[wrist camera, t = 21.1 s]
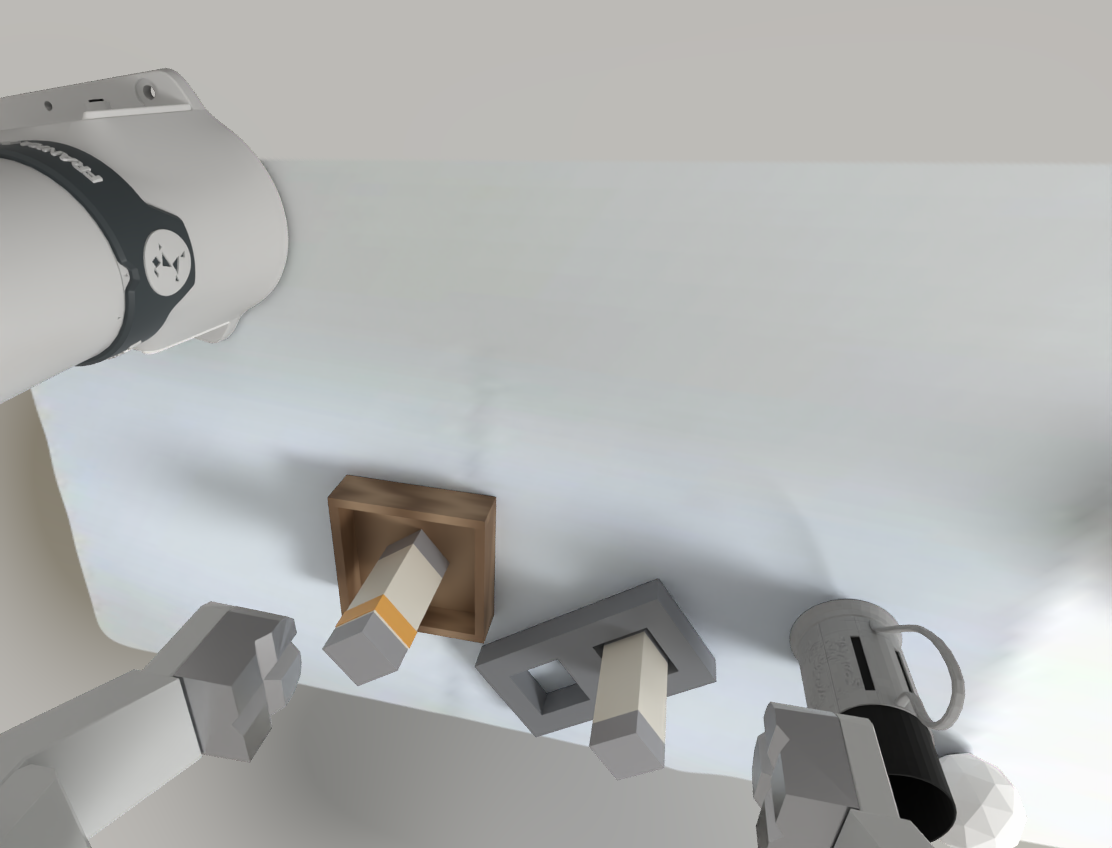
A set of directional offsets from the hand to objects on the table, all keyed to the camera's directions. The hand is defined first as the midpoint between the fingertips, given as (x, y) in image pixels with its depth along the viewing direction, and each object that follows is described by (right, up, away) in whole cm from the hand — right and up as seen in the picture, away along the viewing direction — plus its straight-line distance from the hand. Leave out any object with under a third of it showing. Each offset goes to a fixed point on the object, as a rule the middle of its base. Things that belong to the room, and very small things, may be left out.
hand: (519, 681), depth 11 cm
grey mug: (+25, -11, +44) cm, 52 cm away
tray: (-11, -7, +48) cm, 50 cm away
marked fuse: (-11, -7, +47) cm, 49 cm away
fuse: (+8, -15, +49) cm, 51 cm away
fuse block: (+4, -17, +50) cm, 53 cm away
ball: (+36, -26, +49) cm, 67 cm away
